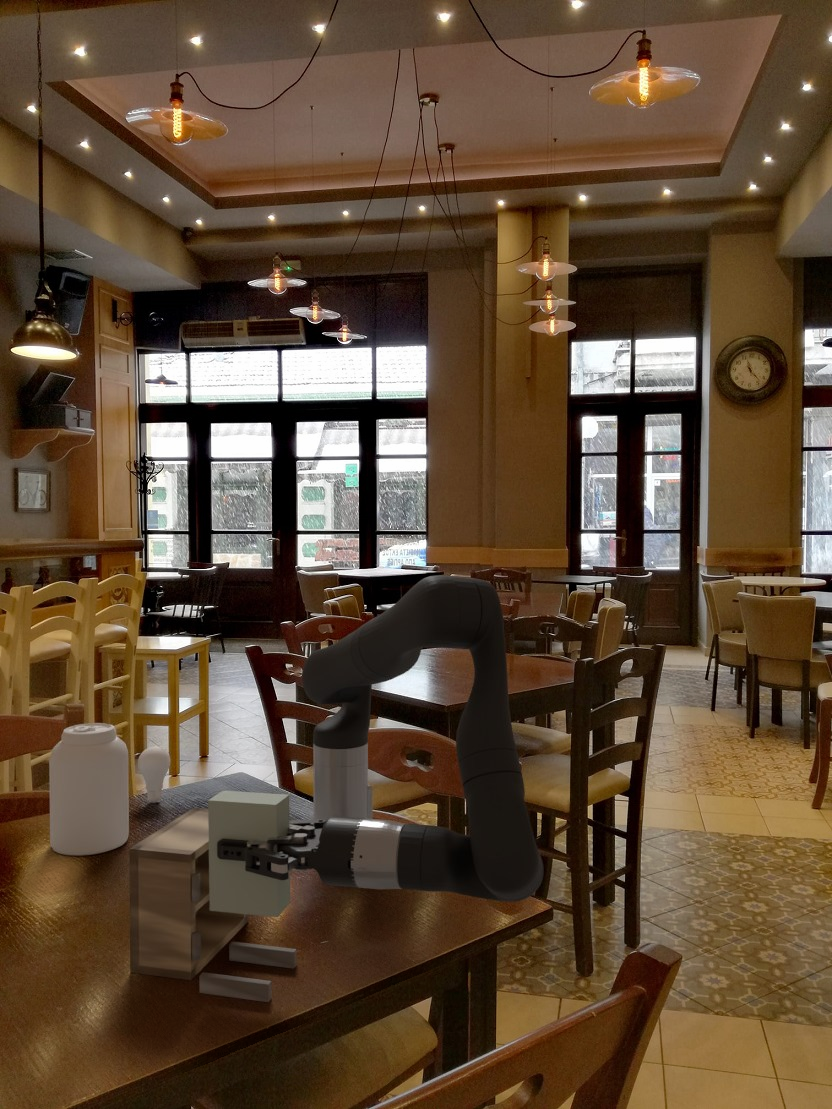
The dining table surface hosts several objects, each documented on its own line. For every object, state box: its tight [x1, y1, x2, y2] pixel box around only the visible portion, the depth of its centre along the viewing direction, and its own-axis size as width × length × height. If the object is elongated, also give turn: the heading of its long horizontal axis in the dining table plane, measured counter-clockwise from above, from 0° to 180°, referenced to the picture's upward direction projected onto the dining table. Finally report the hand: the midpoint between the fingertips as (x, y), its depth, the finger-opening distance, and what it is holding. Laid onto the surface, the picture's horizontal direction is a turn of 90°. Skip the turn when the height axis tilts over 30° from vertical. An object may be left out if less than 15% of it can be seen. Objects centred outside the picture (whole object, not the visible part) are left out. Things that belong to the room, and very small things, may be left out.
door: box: [207, 790, 291, 918], centre depth 103 cm, size 5×8×13 cm, turn 76°
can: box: [48, 722, 130, 856], centre depth 148 cm, size 12×12×20 cm
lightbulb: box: [137, 746, 171, 804], centre depth 170 cm, size 6×6×11 cm
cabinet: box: [128, 807, 297, 1003], centre depth 109 cm, size 18×19×15 cm
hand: (227, 841), depth 104 cm, fingers closed on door, 4 cm apart
